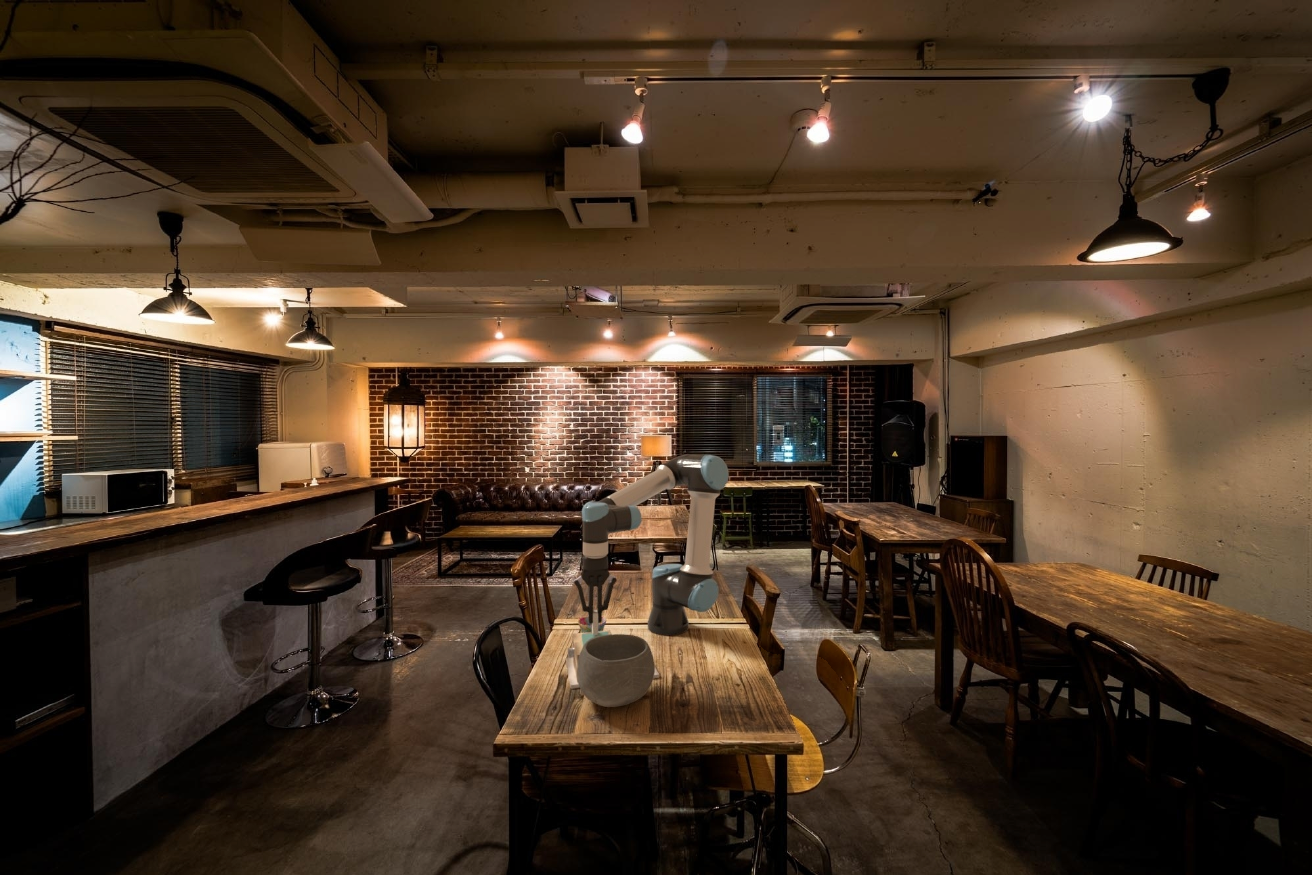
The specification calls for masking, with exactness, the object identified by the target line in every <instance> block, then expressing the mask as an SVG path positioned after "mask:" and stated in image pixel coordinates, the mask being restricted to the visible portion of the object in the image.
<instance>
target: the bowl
mask: <svg viewBox="0 0 1312 875" xmlns="http://www.w3.org/2000/svg"><path fill="white" fill-rule="evenodd" d="M654 659H655V658H654V656H653V651H652V649H651V647H650V644H649V643H648V642H647V640H645V639H644V638H642V637H640V636H637V635H633V634H626V633H625V634H623V633H619V634H618V633H616V634H615V633H613V634H612V635H603V636H596V637H594V638H591V639H589V640H588V641H587V642H586V643H585V644H584V646H583V648H582V650H581V652H580V655H579V659H578V665H577V680H578V684H579V686H580V688H579V689H580V690H581V693H582V694H583V695H584V697H585V698H586V699H587V700H588V701H590V702H592V703H594V704H596V705H598V706H601V707H605V708H606V707H607V708H616V707H623V706H625V705H629V704H632V703H634V702H637V701H638V700H640V699H641V698H643V697H644V696H645V695H646V693H647V692H649V690H650V688H651V686H652V684H653V680H654V679H653V677H654V673H655V667H656V665H655V660H654Z"/></svg>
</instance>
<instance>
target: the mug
mask: <svg viewBox="0 0 1312 875" xmlns="http://www.w3.org/2000/svg"><path fill="white" fill-rule="evenodd" d="M606 623H607V618H605V617H604V616H602V621H601V623H598V631H604V628H605V626H606ZM577 624H578V626H579V629H580V633H585V632H592V623H591V624H590V623H589V621H588V615H587V616H583V617H581V618H579V619H578V621H577Z"/></svg>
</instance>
